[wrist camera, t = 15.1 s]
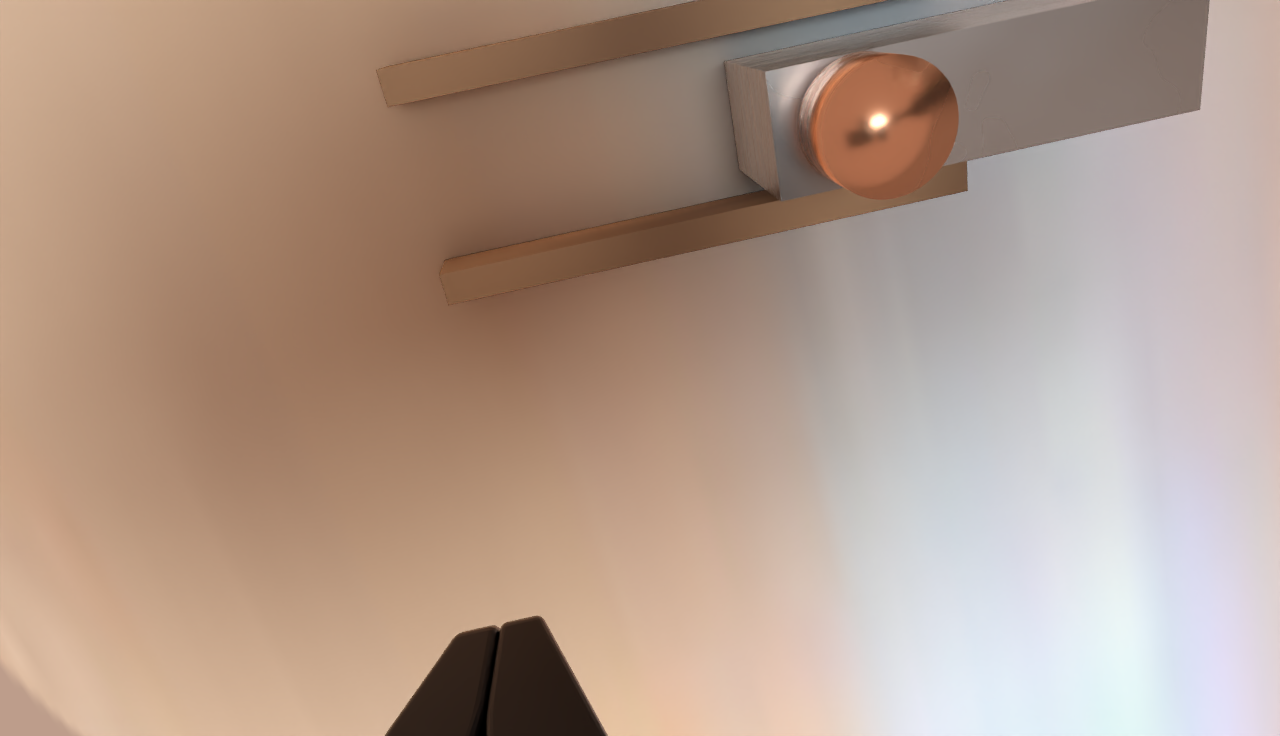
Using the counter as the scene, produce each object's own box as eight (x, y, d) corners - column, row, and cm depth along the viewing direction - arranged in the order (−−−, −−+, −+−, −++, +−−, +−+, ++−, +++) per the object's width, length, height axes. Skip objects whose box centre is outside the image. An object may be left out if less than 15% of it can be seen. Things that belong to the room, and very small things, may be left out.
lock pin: (1090, -18, 15) (1276, -29, 11) (1087, 93, 16) (1259, 118, 12) (724, 61, 15) (786, 77, 11) (739, 169, 16) (802, 218, 12)
